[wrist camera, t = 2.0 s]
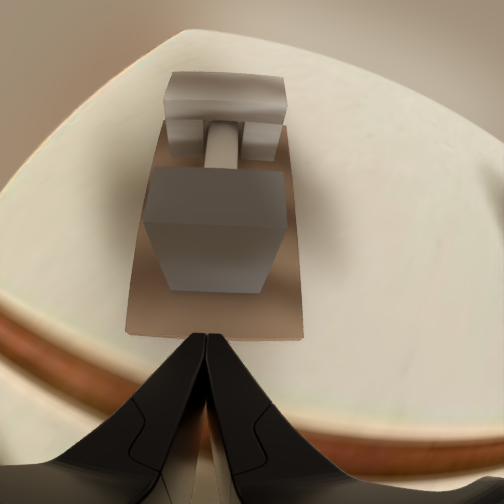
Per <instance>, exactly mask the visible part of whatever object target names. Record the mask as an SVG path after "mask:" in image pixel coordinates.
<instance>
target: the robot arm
mask: <svg viewBox="0 0 504 504" xmlns="http://www.w3.org/2000/svg"><path fill="white" fill-rule="evenodd" d="M205 407H206V408H207V417H208V425H209V432H210V439H211V446H212V452H213V459H214V465H215V471H216V477H217V483H218V489H219V494H220V500H221V504H504V478H500V477H491V476H485V477H482V478H480V479H478V480H476V481H474V482H472V483H471V484H469V485H467V486H465V487H462V488H459V489H456V490H451V491H442V492H435V491H423V490H414V489H407V488H400V487H394V486H388V485H382V484H377V483H372V482H367V481H363V480H359V479H357V478H354V477H352V476H350V475H349V474H347V473H345V472H344V471H342V470H341V469H340V468H339V467H337V466H336V465H335V464H334V463H333V462H331V461H330V460H329V459H328V458H327V457H326V456H324V455H323V454H322V453H321V452H320V451H319V450H318V449H316V448H315V447H314V446H313V445H312V444H311V443H310V442H309V441H307V440H306V439H305V438H304V437H303V436H302V435H301V434H300V433H299V432H298V431H297V430H296V429H295V428H294V427H293V426H292V425H291V424H290V423H289V422H288V421H287V419H286V418H285V417H284V416H283V415H282V414H281V412H280V411H279V410H278V409H277V407H276V406H275V405H274V404H273V403H272V401H271V400H270V398H269V397H268V396H267V395H266V393H265V392H264V391H263V389H262V388H261V387H260V385H259V384H258V383H257V381H256V380H255V379H254V377H253V376H252V375H251V373H250V372H249V371H248V369H247V368H246V367H245V365H244V364H243V363H242V361H241V360H240V359H239V357H238V356H237V354H236V353H235V352H234V350H233V349H232V348H231V346H230V345H229V343H228V342H227V341H226V339H225V338H224V336H223V335H222V334H220V333H208V334H207V335H206V333H195V332H193V333H191V334H190V335H189V336H188V337H187V338H186V339H185V341H184V342H183V343H182V344H181V345H180V346H179V347H178V348H177V349H176V350H175V351H174V352H173V353H172V354H171V355H170V356H169V357H168V358H167V359H166V360H165V361H164V362H163V364H162V365H161V366H160V367H159V368H158V369H157V370H156V371H155V372H154V373H153V374H152V375H151V376H150V377H149V378H148V379H147V380H146V381H145V382H144V383H143V384H142V385H141V386H140V387H139V388H138V389H137V390H136V392H135V393H134V394H133V395H132V396H131V398H129V399H128V400H127V401H126V402H125V403H124V404H123V405H122V406H121V407H120V408H119V409H118V410H117V411H115V412H114V413H113V414H112V415H111V416H110V417H109V418H108V419H107V420H105V421H104V422H103V423H102V424H101V425H99V426H98V427H97V428H96V429H94V430H93V431H92V432H91V433H89V434H88V435H87V436H85V437H84V438H83V439H81V440H80V441H79V442H77V443H76V444H75V445H73V446H72V447H71V448H69V449H68V450H67V451H65V452H64V453H63V454H61V455H60V456H58V457H56V458H54V459H52V460H50V461H47V462H44V463H39V464H27V465H4V466H0V504H190V503H191V497H192V490H193V483H194V477H195V470H196V464H197V457H198V451H199V445H200V439H201V432H202V426H203V420H204V414H205Z"/></svg>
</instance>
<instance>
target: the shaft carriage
mask: <svg viewBox="0 0 504 504" xmlns="http://www.w3.org/2000/svg"><path fill="white" fill-rule="evenodd" d="M237 158H238V123H237V122H236V121H221V120H212V121H211V122H210V124H209V131H208V139H207V147H206V156H205V164H204V168H203V167H154V170H153V174H152V179H151V183H150V188H149V193H148V198H147V203H146V208H145V213H144V218H143V224H144V227H145V230H146V232H147V235H148V237H149V240H150V242H151V245H152V247H153V250H154V252H155V255H156V257H157V260H158V262H159V264H160V267H161V269H162V271H163V274H164V276H165V279H166V281H167V283H168V285H169V288H170V290H176V291H198V292H224V293H258V294H260V291H261V289H262V287H263V284H264V282H265V280H266V278H267V275H268V273H269V271H270V268H271V266H272V264H273V261H274V259H275V257H276V254H277V252H278V250H279V247H280V245H281V243H282V240H283V238H284V236H285V233H286V231H287V229H288V226H287V212H286V199H285V186H284V174H283V172H276V171H262V170H247V169H237Z"/></svg>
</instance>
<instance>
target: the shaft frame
mask: <svg viewBox="0 0 504 504" xmlns="http://www.w3.org/2000/svg"><path fill="white" fill-rule="evenodd" d="M163 102H164V111H165V119H166V120H164V121H163V124H162V128H161V132H160V135H159V139H158V143H157V147H156V151H155V155H154V159H153V163H152V167H151V172H150V176H149V180H148V185H147V189H146V194H145V199H144V204H143V209H142V214H141V219H140V225H139V230H138V236H137V242H136V248H135V254H134V261H133V268H132V275H131V282H130V290H129V298H128V307H127V317H126V328H125V332H127V333H128V334H130V335H141V336H153V337H167V338H183V339H186V338H187V337H188V336H189V335H190V334H191V333H193V332H195V333H206V335H207V334H208V333H220V334H222V335H223V336H224V338H225V339H226V340H237V341H295V340H301V339H302V338H304V333H303V313H302V295H301V280H300V265H299V251H298V239H297V227H296V215H295V204H294V194H293V183H292V174H291V164H290V155H289V146H288V138H287V129H286V126H284V125H283V122H284V118H285V114H286V110H287V106H288V105H287V99H286V92H285V86H284V79H283V77H275V76H266V75H255V74H242V73H224V72H173V73H172V76H171V78H170V81H169V84H168V87H167V90H166V93H165V96H164V99H163ZM211 120H221V121H240V122H237V123H238V158H237V169H247V170H262V171H276V172H283V174H284V186H285V199H286V212H287V226H288V229H287V231H286V233H285V236H284V238H283V240H282V243H281V245H280V247H279V250H278V252H277V254H276V257H275V259H274V261H273V264H272V266H271V268H270V271H269V273H268V275H267V278H266V280H265V282H264V284H263V287H262V289H261V291H260V294H258V293H224V292H198V291H176V290H170V288H169V285H168V283H167V281H166V279H165V276H164V274H163V271H162V269H161V267H160V264H159V262H158V260H157V257H156V255H155V252H154V250H153V247H152V245H151V242H150V240H149V237H148V235H147V232H146V230H145V227H144V224H143V218H144V213H145V208H146V203H147V198H148V193H149V188H150V183H151V179H152V174H153V170H154V167H203V168H204V164H205V156H206V147H207V139H208V131H209V124H210V122H211Z"/></svg>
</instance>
